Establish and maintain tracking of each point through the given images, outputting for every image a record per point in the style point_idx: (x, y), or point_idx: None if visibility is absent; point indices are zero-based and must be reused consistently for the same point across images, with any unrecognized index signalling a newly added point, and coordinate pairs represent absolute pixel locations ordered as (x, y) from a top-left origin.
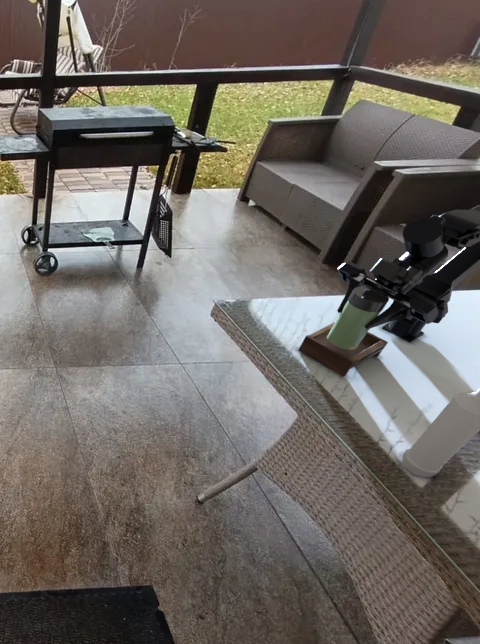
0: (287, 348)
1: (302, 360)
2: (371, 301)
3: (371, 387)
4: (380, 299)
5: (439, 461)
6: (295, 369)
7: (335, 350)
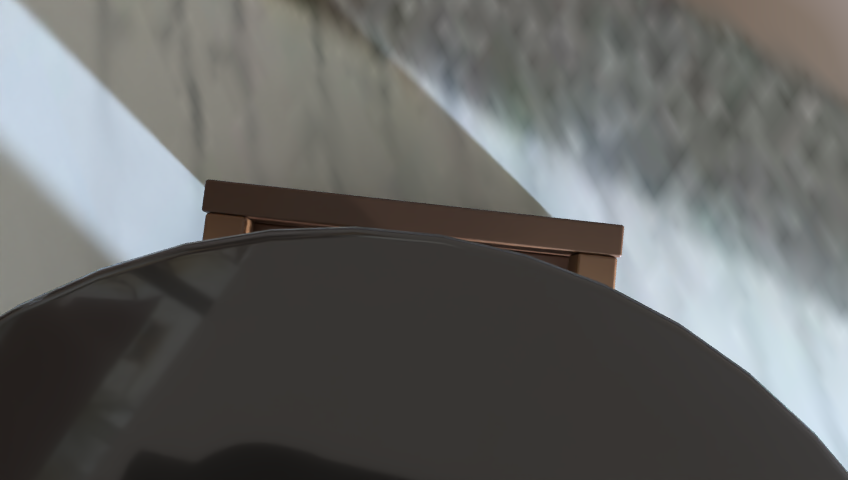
0: (633, 204)
1: (502, 157)
2: (71, 281)
3: (87, 256)
4: None
5: None
6: (482, 24)
7: (369, 226)
